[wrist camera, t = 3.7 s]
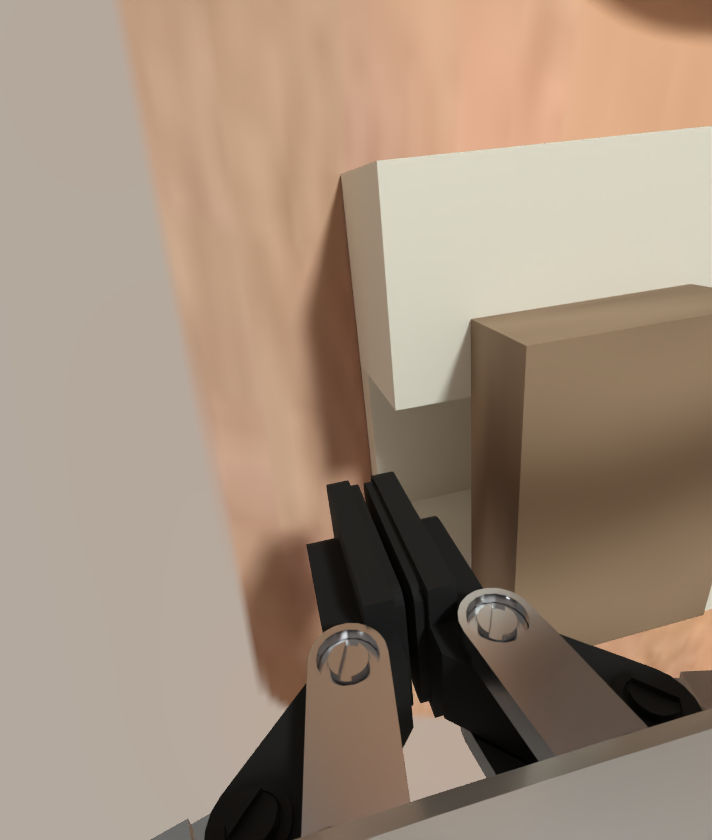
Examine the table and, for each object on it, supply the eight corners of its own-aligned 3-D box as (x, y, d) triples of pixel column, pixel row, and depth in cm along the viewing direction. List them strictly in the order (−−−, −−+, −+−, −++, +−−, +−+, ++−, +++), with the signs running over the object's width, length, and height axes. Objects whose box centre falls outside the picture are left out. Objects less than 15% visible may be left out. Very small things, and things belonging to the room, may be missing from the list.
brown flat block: (639, 558, 16) (703, 614, 14) (471, 600, 15) (510, 668, 13) (690, 283, 12) (790, 300, 10) (470, 318, 11) (526, 345, 9)
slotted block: (640, 540, 22) (719, 606, 18) (385, 604, 20) (416, 690, 16) (716, 133, 15) (865, 109, 11) (340, 173, 13) (376, 161, 10)
